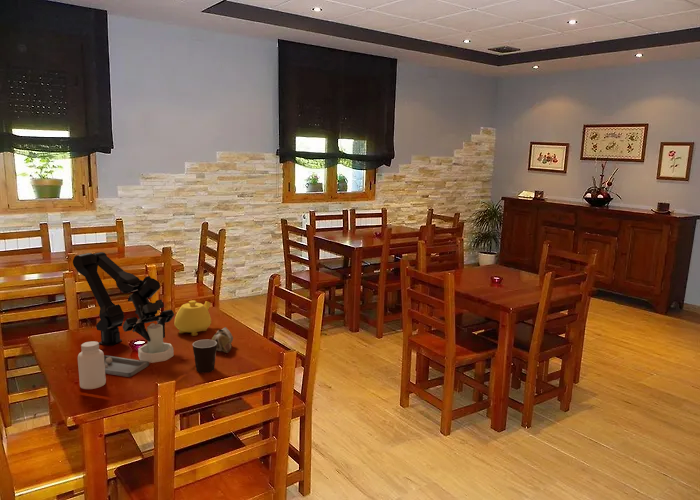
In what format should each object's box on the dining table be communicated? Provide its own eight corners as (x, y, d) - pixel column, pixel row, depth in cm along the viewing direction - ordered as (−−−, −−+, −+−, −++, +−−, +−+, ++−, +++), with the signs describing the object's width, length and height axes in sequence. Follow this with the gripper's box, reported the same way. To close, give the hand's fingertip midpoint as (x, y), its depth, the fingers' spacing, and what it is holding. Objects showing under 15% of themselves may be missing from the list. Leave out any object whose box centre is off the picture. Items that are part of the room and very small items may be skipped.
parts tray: (83, 371, 192) (83, 363, 191) (105, 360, 202) (104, 352, 202) (129, 379, 187) (129, 370, 186) (149, 367, 197) (148, 359, 197)
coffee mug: (210, 375, 192) (210, 349, 190) (188, 372, 194) (188, 346, 192) (224, 363, 203) (224, 338, 202) (203, 360, 205) (203, 335, 203)
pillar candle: (145, 355, 203) (144, 325, 201) (151, 349, 209) (150, 321, 207) (160, 355, 203) (159, 326, 201) (165, 350, 209) (164, 321, 206)
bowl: (132, 361, 202) (132, 351, 201) (152, 350, 213) (151, 340, 213) (160, 365, 199) (160, 355, 198) (178, 354, 210) (178, 344, 210)
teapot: (196, 320, 251) (195, 292, 249) (224, 325, 246) (223, 296, 243) (166, 333, 233) (165, 303, 231) (196, 339, 227) (195, 308, 225)
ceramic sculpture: (238, 323, 222) (228, 338, 207) (238, 343, 224) (229, 358, 210) (212, 322, 222) (201, 337, 208) (213, 342, 225) (202, 357, 210)
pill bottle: (85, 381, 184) (82, 339, 182) (109, 381, 185) (107, 339, 182) (75, 391, 177) (72, 348, 174) (100, 391, 177) (98, 348, 175)
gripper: (124, 298, 198) (139, 334, 192) (171, 289, 211) (186, 323, 206) (116, 313, 204) (130, 349, 199) (162, 304, 218) (176, 337, 213)
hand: (156, 339), depth 204 cm, fingers closed on pillar candle, 5 cm apart
